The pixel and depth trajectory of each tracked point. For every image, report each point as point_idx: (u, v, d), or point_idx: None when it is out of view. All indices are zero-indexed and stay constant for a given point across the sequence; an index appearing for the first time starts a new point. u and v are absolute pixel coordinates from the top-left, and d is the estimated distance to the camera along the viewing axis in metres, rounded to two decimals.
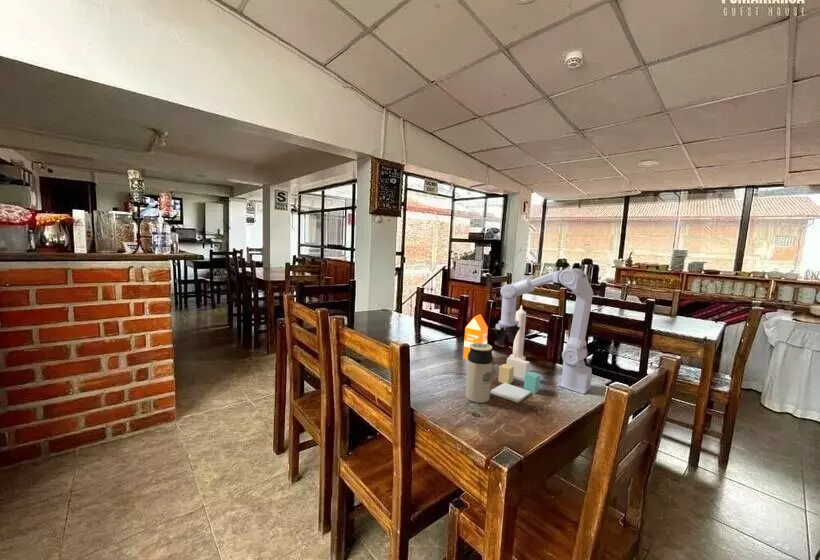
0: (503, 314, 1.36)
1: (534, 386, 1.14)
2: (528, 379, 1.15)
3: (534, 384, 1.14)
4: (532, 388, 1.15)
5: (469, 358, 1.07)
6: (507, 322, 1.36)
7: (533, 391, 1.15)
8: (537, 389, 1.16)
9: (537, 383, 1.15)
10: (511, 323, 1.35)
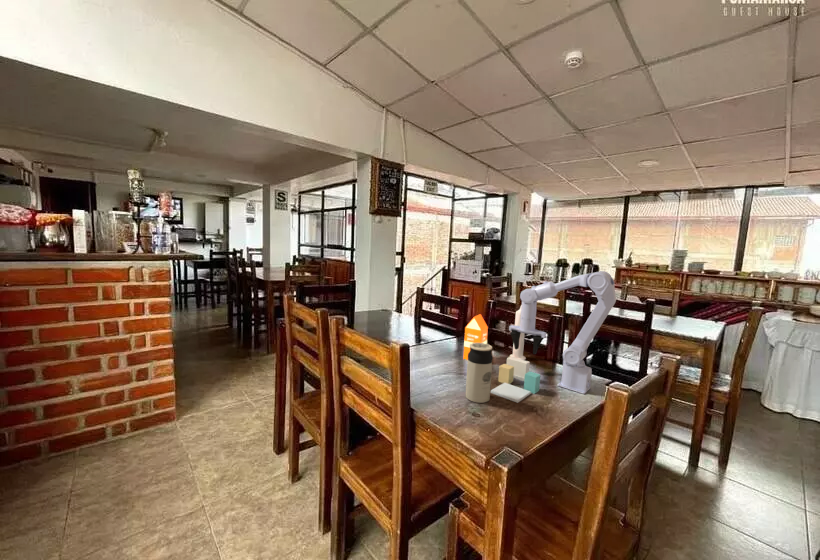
0: None
1: (534, 386, 1.14)
2: (528, 379, 1.15)
3: (534, 384, 1.14)
4: (532, 388, 1.15)
5: (469, 358, 1.07)
6: (520, 326, 1.32)
7: (533, 391, 1.15)
8: (537, 389, 1.16)
9: (537, 383, 1.15)
10: (521, 328, 1.30)
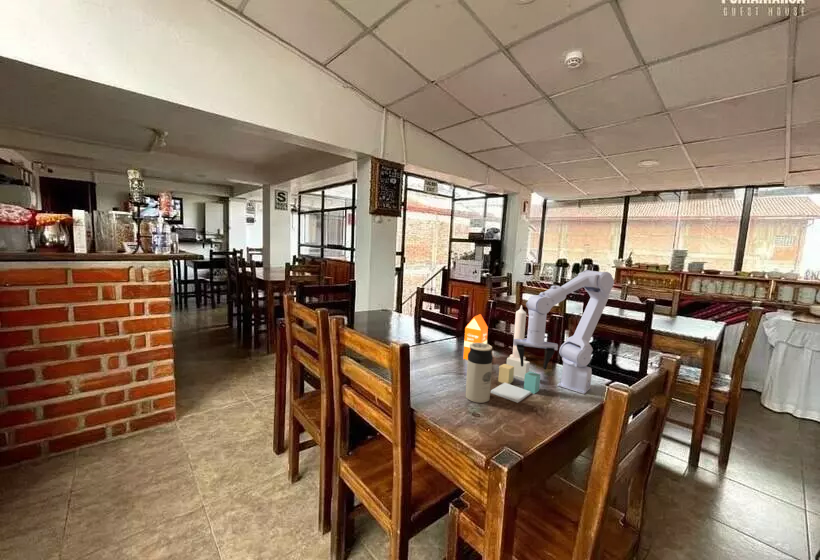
0: None
1: (534, 386, 1.14)
2: (528, 379, 1.15)
3: (534, 384, 1.14)
4: (532, 388, 1.15)
5: (469, 358, 1.07)
6: (528, 340, 1.14)
7: (533, 391, 1.15)
8: (537, 389, 1.16)
9: (537, 383, 1.15)
10: (532, 342, 1.13)
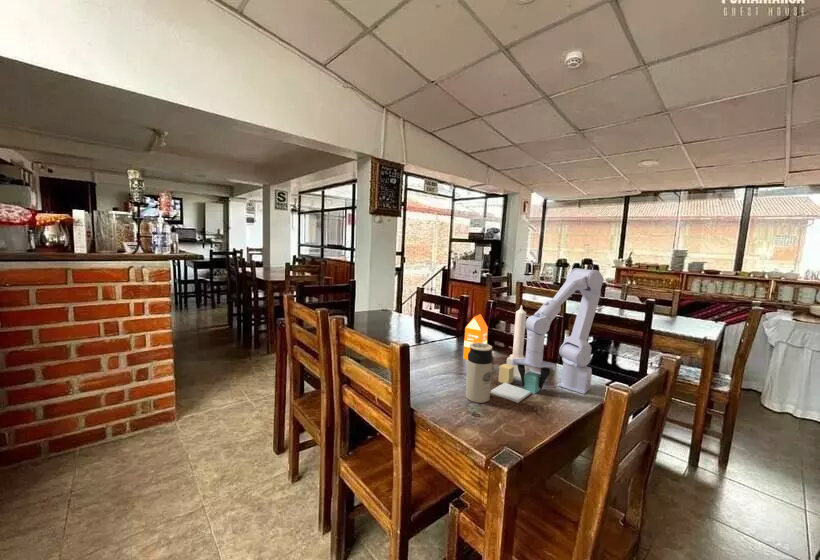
0: (526, 350, 1.17)
1: (534, 386, 1.14)
2: (528, 378, 1.15)
3: (534, 384, 1.14)
4: (532, 387, 1.15)
5: (469, 358, 1.07)
6: (527, 360, 1.15)
7: (533, 391, 1.15)
8: (537, 389, 1.16)
9: (537, 383, 1.15)
10: (530, 362, 1.14)
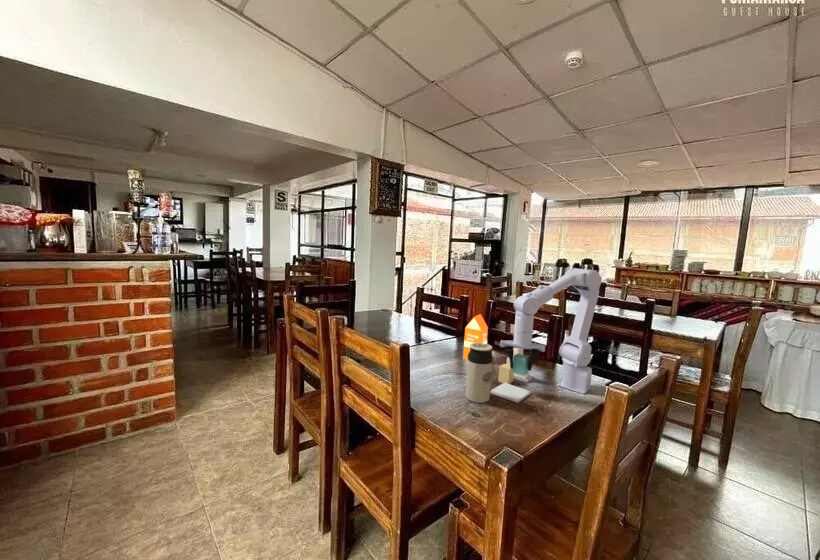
0: None
1: (523, 368, 1.12)
2: (517, 360, 1.13)
3: (523, 365, 1.11)
4: (521, 369, 1.12)
5: (469, 358, 1.07)
6: (515, 341, 1.12)
7: (522, 373, 1.12)
8: (526, 371, 1.13)
9: (525, 365, 1.12)
10: (519, 343, 1.11)
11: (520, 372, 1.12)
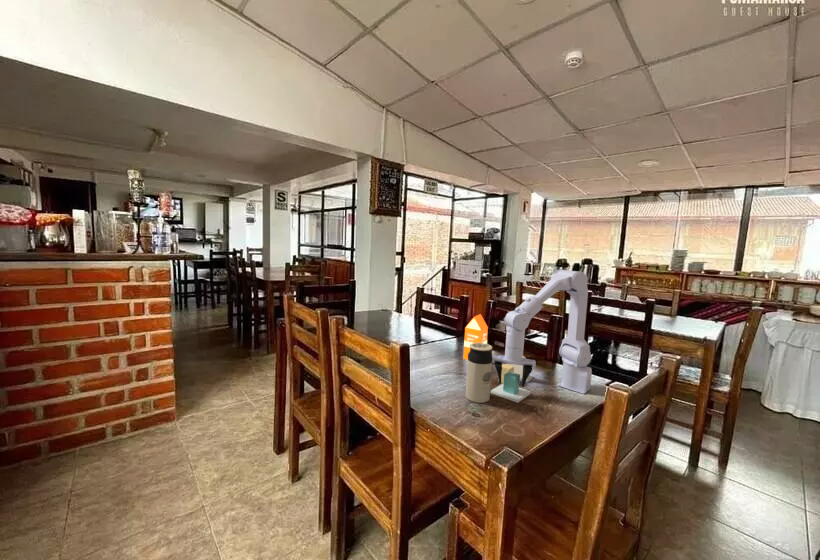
0: None
1: (513, 386, 1.11)
2: (508, 379, 1.12)
3: (514, 384, 1.11)
4: (511, 388, 1.12)
5: (469, 358, 1.07)
6: (506, 357, 1.12)
7: (512, 392, 1.11)
8: (517, 389, 1.13)
9: (516, 383, 1.12)
10: (510, 359, 1.10)
11: (511, 391, 1.12)
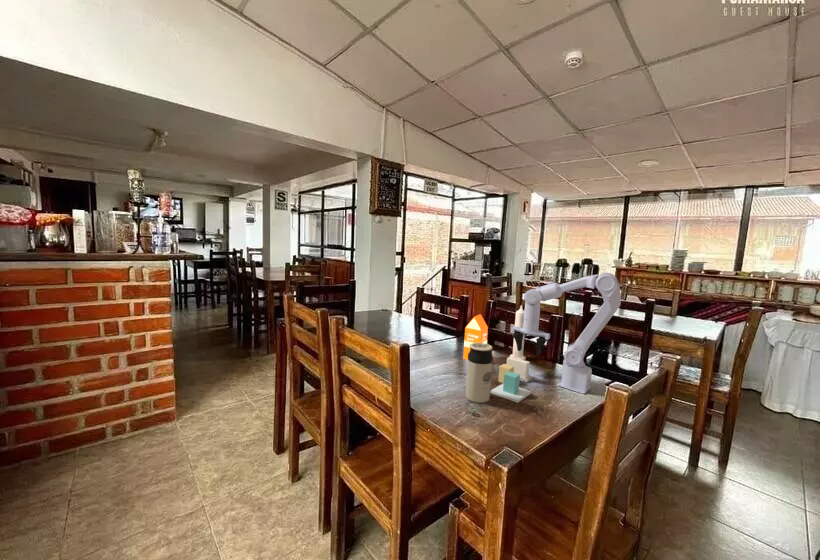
0: None
1: (513, 386, 1.11)
2: (508, 379, 1.12)
3: (514, 384, 1.11)
4: (511, 388, 1.12)
5: (469, 358, 1.07)
6: (523, 328, 1.29)
7: (512, 392, 1.11)
8: (517, 389, 1.13)
9: (516, 383, 1.12)
10: (524, 329, 1.27)
11: (511, 391, 1.12)
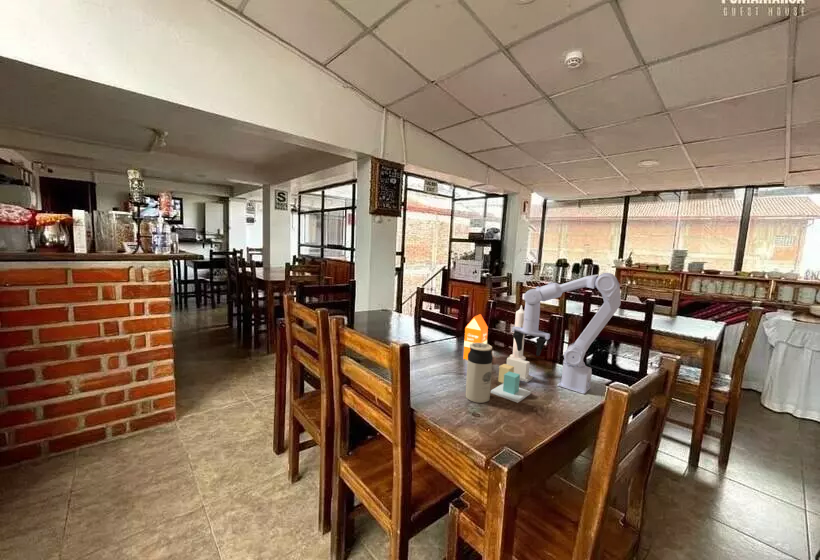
0: None
1: (513, 386, 1.11)
2: (508, 379, 1.12)
3: (514, 384, 1.11)
4: (511, 388, 1.12)
5: (469, 358, 1.07)
6: (523, 327, 1.29)
7: (512, 392, 1.11)
8: (517, 389, 1.13)
9: (516, 383, 1.12)
10: (524, 329, 1.28)
11: (511, 391, 1.12)
